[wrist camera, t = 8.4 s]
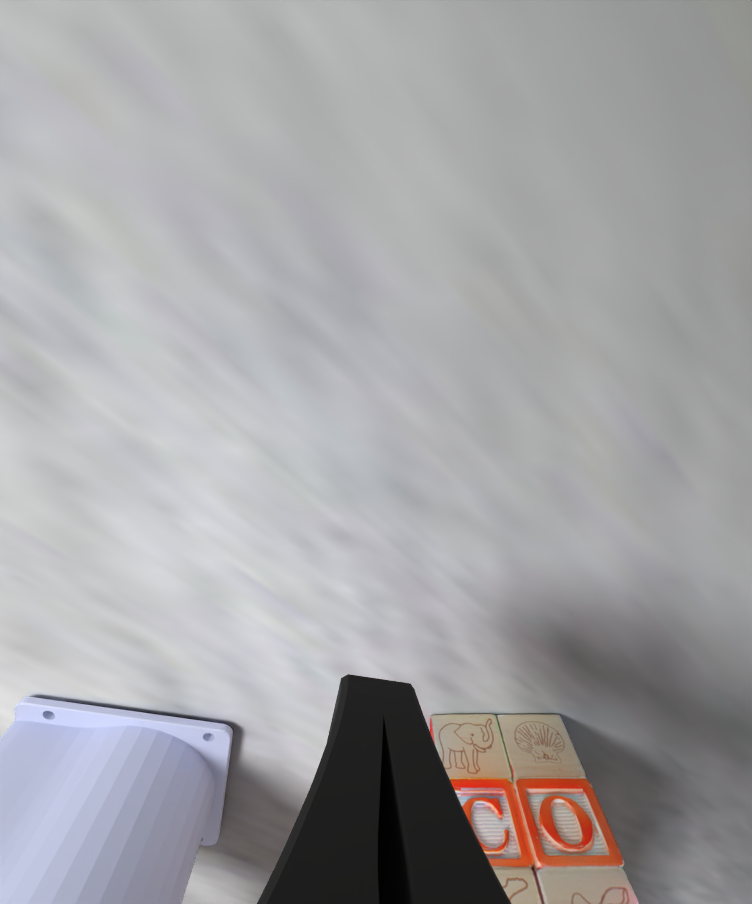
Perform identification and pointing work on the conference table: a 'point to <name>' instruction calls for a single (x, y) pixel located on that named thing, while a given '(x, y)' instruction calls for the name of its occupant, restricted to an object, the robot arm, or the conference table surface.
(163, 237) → the conference table surface
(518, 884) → the stack of blocks
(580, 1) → the conference table surface
